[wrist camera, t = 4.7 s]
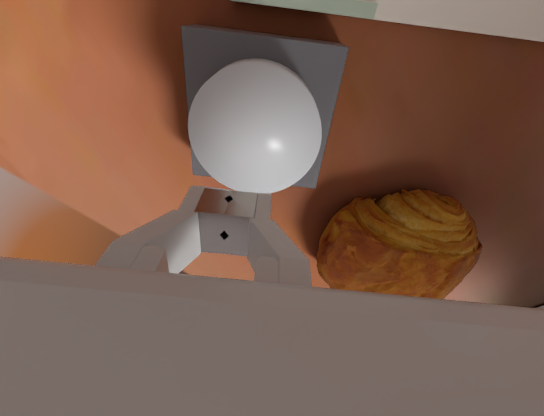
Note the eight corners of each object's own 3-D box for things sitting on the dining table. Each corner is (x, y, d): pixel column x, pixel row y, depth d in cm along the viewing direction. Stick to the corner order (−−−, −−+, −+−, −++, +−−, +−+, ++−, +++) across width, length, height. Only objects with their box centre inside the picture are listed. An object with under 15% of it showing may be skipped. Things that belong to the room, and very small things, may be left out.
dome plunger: (304, 172, 22) (308, 200, 18) (206, 161, 22) (192, 187, 18) (327, 62, 17) (336, 73, 14) (201, 46, 17) (181, 54, 14)
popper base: (312, 171, 24) (315, 188, 22) (202, 158, 24) (192, 174, 22) (340, 42, 18) (348, 47, 16) (195, 24, 18) (180, 25, 16)
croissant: (474, 195, 28) (545, 241, 21) (394, 297, 35) (427, 357, 28) (350, 152, 25) (384, 187, 18) (290, 272, 32) (298, 331, 25)
